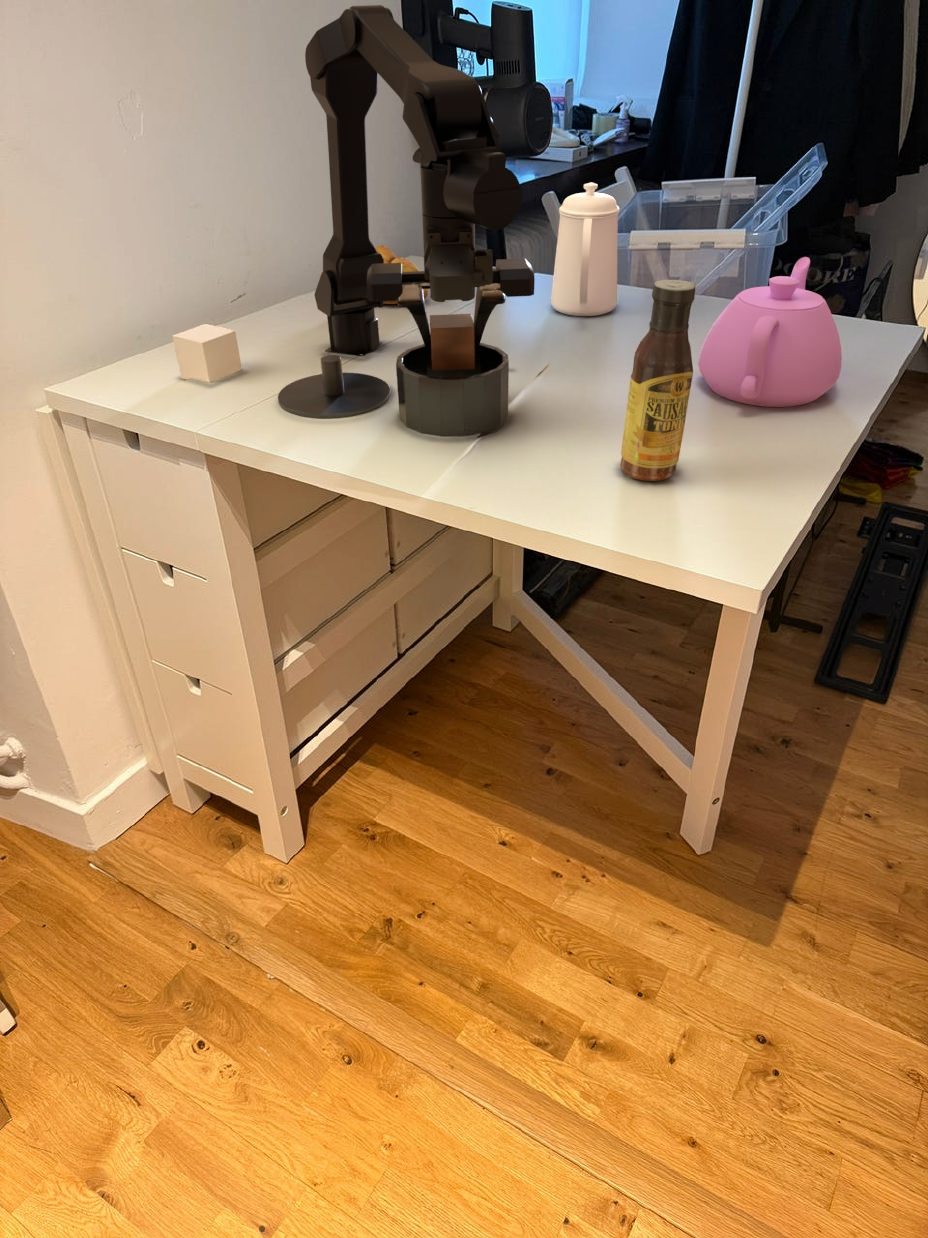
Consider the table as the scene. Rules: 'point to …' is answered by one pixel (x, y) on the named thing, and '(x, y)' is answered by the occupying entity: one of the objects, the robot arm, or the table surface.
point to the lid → (334, 392)
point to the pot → (453, 394)
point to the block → (452, 342)
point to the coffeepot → (586, 254)
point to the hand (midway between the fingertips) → (452, 354)
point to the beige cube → (207, 353)
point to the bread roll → (391, 258)
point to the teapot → (773, 345)
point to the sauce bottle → (660, 386)
